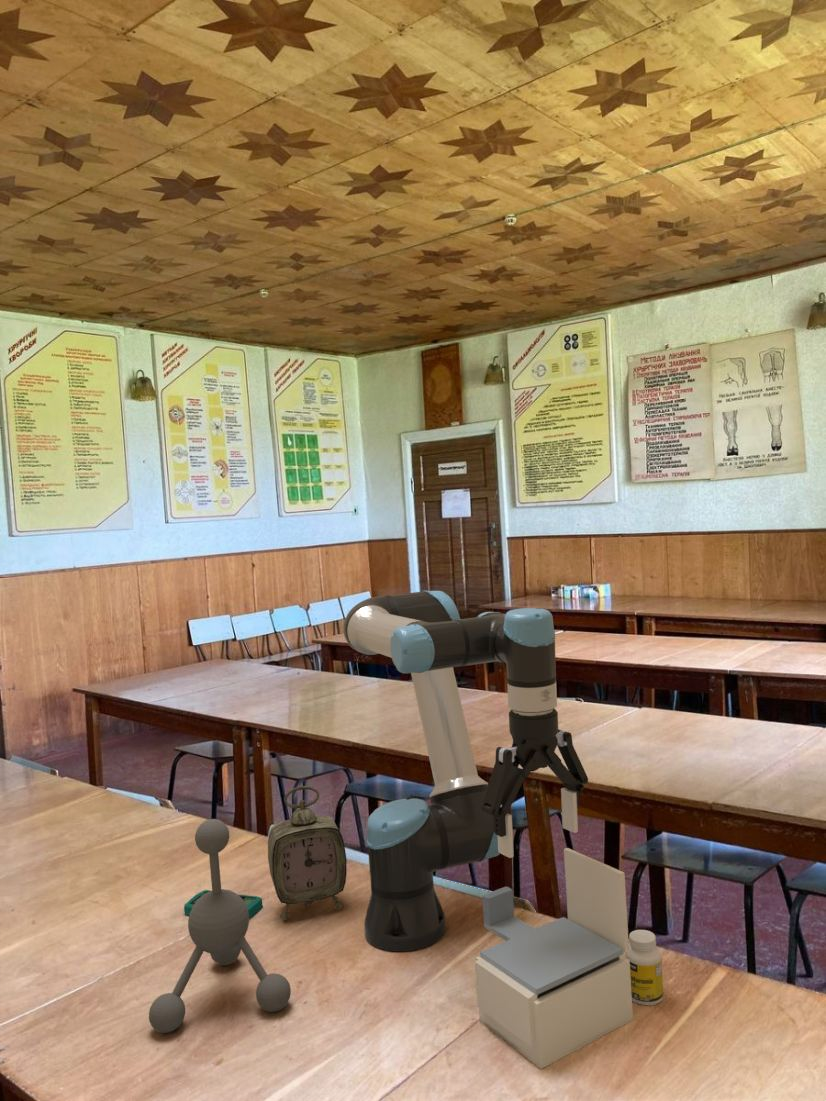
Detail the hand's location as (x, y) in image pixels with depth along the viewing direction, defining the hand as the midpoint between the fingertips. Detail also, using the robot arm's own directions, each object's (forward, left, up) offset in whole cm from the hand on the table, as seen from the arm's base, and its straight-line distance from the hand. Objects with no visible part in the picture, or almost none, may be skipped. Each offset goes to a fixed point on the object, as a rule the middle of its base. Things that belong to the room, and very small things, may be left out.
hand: (539, 842), depth 135 cm
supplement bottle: (+10, +11, -25) cm, 29 cm away
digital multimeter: (-63, -31, -25) cm, 75 cm away
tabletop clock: (-52, -17, -25) cm, 60 cm away
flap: (+2, -4, -15) cm, 15 cm away
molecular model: (-32, -44, -25) cm, 60 cm away
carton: (+6, -4, -25) cm, 26 cm away
